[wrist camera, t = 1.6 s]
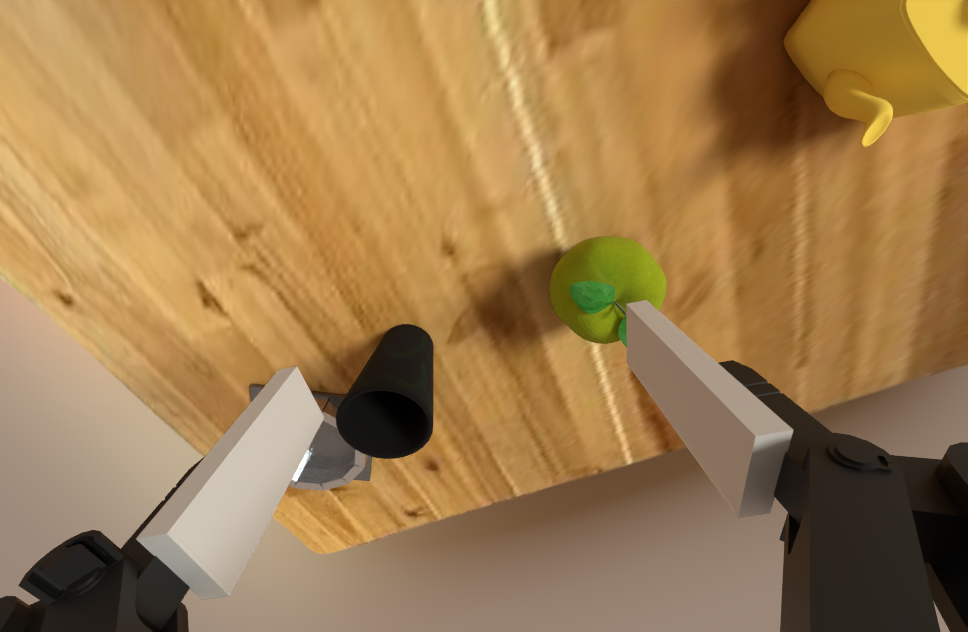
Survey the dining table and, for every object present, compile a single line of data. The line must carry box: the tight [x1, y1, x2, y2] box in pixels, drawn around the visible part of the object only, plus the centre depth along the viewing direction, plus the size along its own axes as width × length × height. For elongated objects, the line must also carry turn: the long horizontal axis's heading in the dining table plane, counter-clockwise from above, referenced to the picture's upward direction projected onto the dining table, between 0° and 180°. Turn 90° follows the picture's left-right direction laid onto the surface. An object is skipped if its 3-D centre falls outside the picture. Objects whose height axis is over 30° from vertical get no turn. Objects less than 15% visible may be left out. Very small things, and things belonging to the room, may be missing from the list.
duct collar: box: [250, 384, 372, 491], centre depth 42 cm, size 14×14×3 cm
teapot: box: [783, 0, 968, 147], centre depth 23 cm, size 15×14×10 cm
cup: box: [336, 324, 433, 459], centre depth 33 cm, size 8×8×12 cm
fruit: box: [549, 236, 666, 348], centre depth 31 cm, size 9×9×10 cm
